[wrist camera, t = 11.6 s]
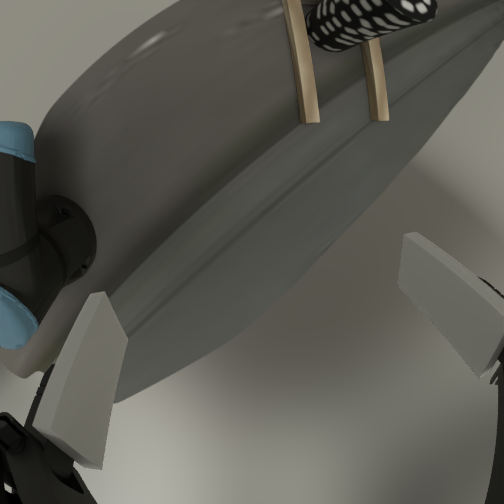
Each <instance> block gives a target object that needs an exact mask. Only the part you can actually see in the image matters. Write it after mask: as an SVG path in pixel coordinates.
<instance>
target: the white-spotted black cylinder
mask: <svg viewBox="0 0 504 504" xmlns="http://www.w3.org/2000/svg"><path fill="white" fill-rule="evenodd" d="M436 14H437V0H322V1H321V2H320V3H319V4H318V5H317V6H316V7H315V8H314V9H312V10H311V11H310V12H309V13H308V14H307V16H306V18H305V25H306V30H307V35H308V37H309V38H310V40H311V41H312V42H313V43H314V44H316V45H317V46H318V47H320V48H322V49H324V50H326V51H330V52H341V51H344V50H346V49H349V48H351V47H354V46H356V45H359V44H361V43H364V42H366V41H369V40H372V39H374V38H377V37H380V36H383V35H386V34H388V33H391V32H394V31H398V30H401V29H404V28H407V27H410V26H414V25H417V24H421V23H425V22H428V21H431V20H432V19H434V17H435V16H436Z"/></svg>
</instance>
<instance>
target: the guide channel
mask: <svg viewBox="0 0 504 504" xmlns="http://www.w3.org/2000/svg"><path fill="white" fill-rule="evenodd" d="M321 1H322V0H282V5H283V10H284V15H285V20H286V26H287V31H288V37H289V42H290V48H291V54H292V60H293V67H294V73H295V80H296V87H297V95H298V102H299V110H300V118H301V123H313V122H320V119H319V110H318V102H317V94H316V86H315V79H314V72H313V66H312V59H311V53H310V47H309V41H308V36H307V30H306V25H305V20H304V15H303V10H302V5H301V4H307V5H318V4H319V3H320V2H321ZM361 47H362V53H363V59H364V66H365V73H366V80H367V88H368V97H369V107H370V118H371V120H379V121H389V114H388V102H387V92H386V84H385V76H384V69H383V62H382V56H381V50H380V44H379V39H378V37H377V38H374V39H372V40H369V41H366V42H364V43H361Z"/></svg>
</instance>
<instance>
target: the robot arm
mask: <svg viewBox="0 0 504 504" xmlns="http://www.w3.org/2000/svg"><path fill="white" fill-rule="evenodd" d="M35 164H36V160H35V158H34V135H33V131H32V129H31V127H29V125H27V124H25V123H22V122H14V121H0V347H3V348H6V349H19V348H21V347H23V346H24V345H26V343H27V342H28V341H29V339H30V338H31V336H32V335H33V334H34V333H35V332H36V331H37V329H38V327H39V325H40V323H41V321H42V320H43V318H44V316H45V315H46V313H47V311H48V310H49V308H50V306H51V305H52V303H53V302H54V300H55V299H56V297H57V295H58V294H59V292H60V291H61V289H62V288H63V287H65V286H67V285H69V284H71V283H73V282H74V281H76V280H78V279H80V278H81V277H82V276H83V275H84V274H85V273H86V272H87V270H88V269H89V267H90V266H91V264H92V262H93V260H94V257H95V254H96V237H95V232H94V229H93V226H92V224H91V222H90V220H89V218H88V216H87V215H86V214H85V212H84V211H83V210H82V209H81V208H80V207H79V206H78V205H77V204H76V203H74V202H73V201H71V200H69V199H67V198H65V197H61V196H48V197H45V198H43V199H41V200H39V201H38V202H36V194H35ZM397 285H398V287H399V288H400V289H401V290H402V291H403V292H404V293H405V294H406V295H407V296H408V297H409V298H410V299H411V300H412V301H413V302H414V303H415V304H416V306H417V307H418V308H419V309H420V310H421V311H422V312H423V313H424V314H425V315H426V317H427V318H428V319H429V320H430V321H431V322H432V323H433V324H434V325H435V327H436V328H437V329H438V330H439V331H440V332H441V333H442V335H443V336H444V337H445V338H446V339H447V340H448V341H449V343H450V344H451V345H452V346H453V348H454V349H455V350H456V351H457V352H458V354H459V355H460V356H461V357H462V358H463V360H464V361H465V362H466V363H467V365H468V366H469V367H470V368H471V370H472V371H473V372H474V373H475V375H476V376H477V377H478V378H481V377H482V376H484V375H485V374H487V373H488V372H489V371H491V369H492V368H493V366H494V364H495V362H496V361H497V359H498V360H499V361H500V363H501V364H500V366H499V367H498V369H497V370H496V372H495V373H494V375H493V377H492V378H491V380H490V384H492V383H493V382H494V380H495V379H496V377H497V376H498V379H497V381H496V383H495V385H498V425H497V437H496V446H495V454H494V461H493V467H492V473H491V478H490V484H489V488H488V492H487V497H486V500H485V504H504V296H503V295H501V293H500V292H499V291H498V290H497V289H494V287H493V286H492V285H491V284H489V283H488V282H487V281H486V280H483V279H482V278H480V277H477V276H476V275H474V274H473V273H472V272H471V271H469V270H468V269H467V268H466V267H464V266H463V265H462V264H460V263H459V262H458V261H456V260H455V259H454V258H452V257H451V256H450V255H448V254H447V253H446V252H444V251H443V250H441V249H440V248H439V247H437V246H436V245H435V244H433V243H432V242H430V241H429V240H428V239H426V238H425V237H423V236H422V235H420V234H419V233H417V232H412V233H407V234H404V238H403V247H402V255H401V263H400V270H399V277H398V283H397ZM127 343H128V338H127V336H126V334H125V332H124V330H123V329H122V327H121V325H120V323H119V321H118V318H117V316H116V314H115V312H114V310H113V308H112V306H111V304H110V302H109V299H108V297H107V295H106V293H105V291H103V292H98V293H92V294H90V295H89V297H88V299H87V300H86V302H85V304H84V306H83V308H82V310H81V312H80V314H79V316H78V318H77V319H76V321H75V323H74V325H73V327H72V329H71V331H70V334H69V336H68V338H67V340H66V342H65V344H64V346H63V348H62V350H61V353H60V355H59V357H58V359H57V362H56V364H52V365H51V366H50V367H49V369H48V370H47V371H46V372H45V374H44V376H43V378H42V380H41V383H40V387H39V388H38V390H37V392H36V394H37V395H36V396H35V398H34V400H33V403H32V406H31V409H30V411H29V414H28V417H27V419H26V422H25V425H24V427H23V426H22V425H21V424H20V423H19V422H18V421H17V420H16V419H15V418H14V417H12V415H10V414H9V413H7V412H2V413H0V504H97V502H96V501H95V499H94V498H93V496H92V495H91V493H90V491H89V490H88V489H87V487H86V485H85V483H84V481H83V480H82V478H81V476H80V475H79V473H78V471H77V470H76V469H75V468H74V467H73V463H74V461H76V462H77V463H79V464H80V465H81V466H83V467H85V468H92V469H99V470H102V466H103V458H104V452H105V445H106V439H107V433H108V427H109V421H110V416H111V411H112V406H113V401H114V397H115V392H116V387H117V383H118V379H119V374H120V370H121V366H122V362H123V358H124V354H125V350H126V346H127ZM4 483H5V484H7V485H8V486H10V487H12V493H9V492H8V491H6V490H5V488H4Z"/></svg>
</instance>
